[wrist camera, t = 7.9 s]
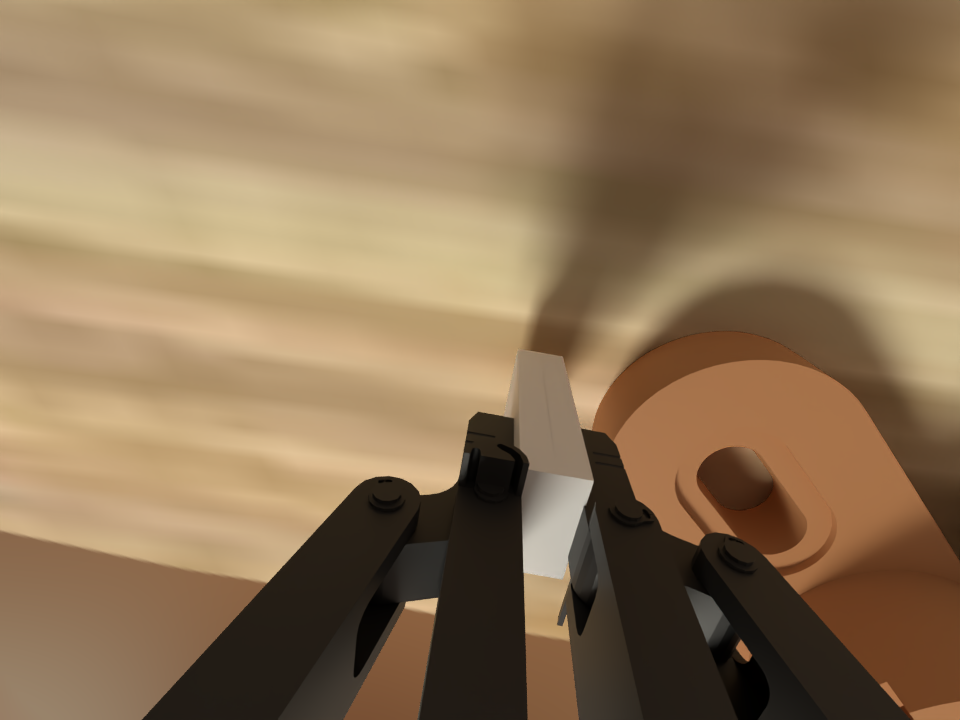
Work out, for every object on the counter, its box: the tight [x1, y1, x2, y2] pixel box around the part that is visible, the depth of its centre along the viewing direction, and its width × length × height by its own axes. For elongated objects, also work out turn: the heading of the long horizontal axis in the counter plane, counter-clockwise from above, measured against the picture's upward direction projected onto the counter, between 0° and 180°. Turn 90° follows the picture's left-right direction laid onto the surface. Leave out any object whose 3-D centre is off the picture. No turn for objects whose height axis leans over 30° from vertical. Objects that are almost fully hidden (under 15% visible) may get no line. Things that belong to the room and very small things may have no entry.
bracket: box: [592, 331, 960, 720], centre depth 16 cm, size 18×8×7 cm, turn 40°
